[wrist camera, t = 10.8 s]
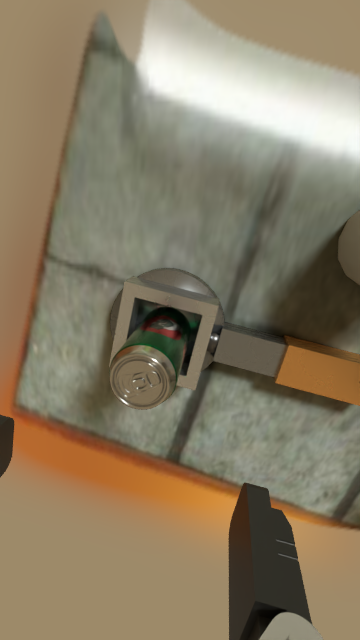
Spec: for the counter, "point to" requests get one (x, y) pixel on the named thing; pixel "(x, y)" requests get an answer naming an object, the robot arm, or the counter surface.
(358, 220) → the cup
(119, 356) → the soda can
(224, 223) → the counter surface
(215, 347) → the ratchet
